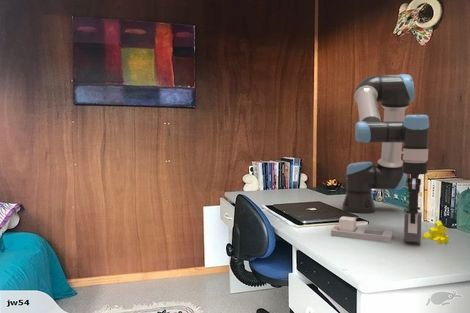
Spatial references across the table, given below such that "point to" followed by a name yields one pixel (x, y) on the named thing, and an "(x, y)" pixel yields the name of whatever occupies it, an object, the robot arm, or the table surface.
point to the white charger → (347, 224)
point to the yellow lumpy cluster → (437, 233)
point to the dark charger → (412, 236)
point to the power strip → (364, 234)
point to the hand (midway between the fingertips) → (412, 230)
